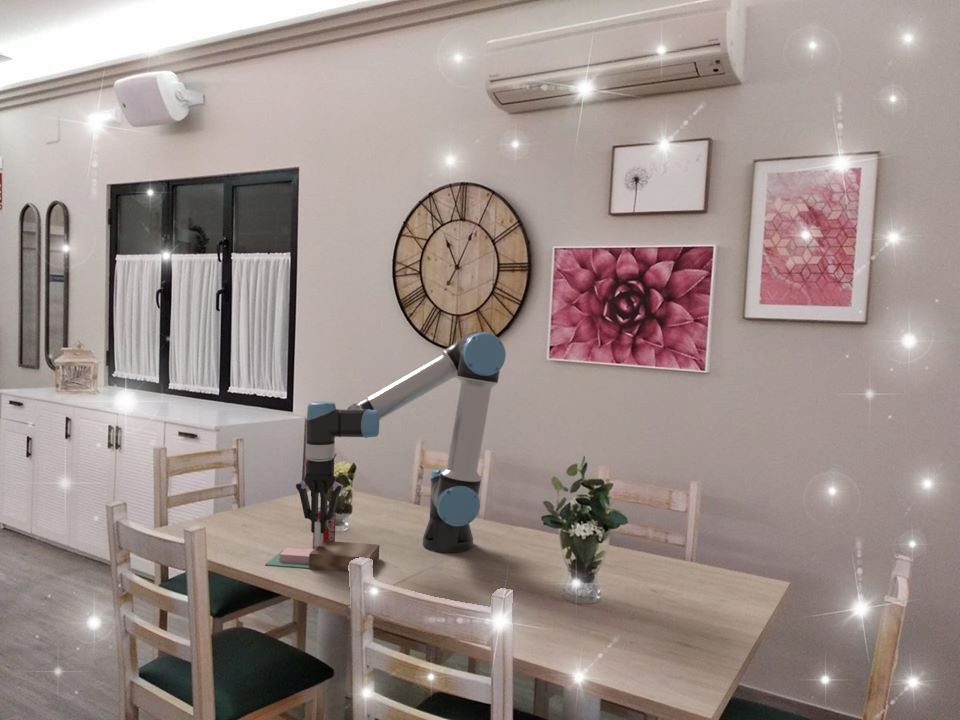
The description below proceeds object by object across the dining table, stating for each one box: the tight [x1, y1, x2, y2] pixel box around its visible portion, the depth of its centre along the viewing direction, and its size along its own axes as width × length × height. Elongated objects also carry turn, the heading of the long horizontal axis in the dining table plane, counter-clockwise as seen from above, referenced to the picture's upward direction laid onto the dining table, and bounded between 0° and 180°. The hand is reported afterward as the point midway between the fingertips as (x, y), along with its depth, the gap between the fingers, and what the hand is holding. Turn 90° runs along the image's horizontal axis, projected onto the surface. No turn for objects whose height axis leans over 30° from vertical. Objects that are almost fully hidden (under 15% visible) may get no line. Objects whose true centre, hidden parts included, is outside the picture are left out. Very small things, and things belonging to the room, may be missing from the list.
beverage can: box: [312, 506, 337, 550], centre depth 205 cm, size 6×6×12 cm
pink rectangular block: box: [278, 547, 314, 564], centre depth 195 cm, size 9×6×2 cm, turn 84°
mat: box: [264, 550, 309, 570], centre depth 196 cm, size 12×12×1 cm
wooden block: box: [309, 540, 380, 572], centre depth 194 cm, size 16×12×4 cm
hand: (318, 544), depth 195 cm, fingers closed
